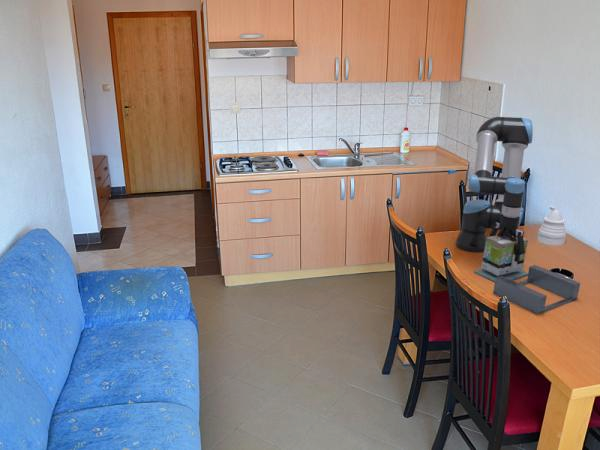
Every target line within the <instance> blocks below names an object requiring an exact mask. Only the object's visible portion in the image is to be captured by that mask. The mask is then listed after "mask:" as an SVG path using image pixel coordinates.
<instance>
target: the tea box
mask: <svg viewBox="0 0 600 450" xmlns="http://www.w3.org/2000/svg"><path fill="white" fill-rule="evenodd" d="M497 235H498V234H496V235H495V236H491V237H489V236H486V237H487V238H486V244H485V249H484V251H483V256H482V261H481V269H482V268H483V269H485V270H487V271H489V272H491V273H493V274H495V275H497V276H499V275H502V274H507V273H511V272H515V271H521V270H522V271H523V270H524V269H523V267H524V264H525V258H526V252H527V247H528V243H529V242H528V241H529V240H528V239H527V238H525V237H523V239H524V248H525V254H522V255H520V258H519V261H518V262H517V267H516V268H513V269H512V268H511V264H512V258H513V254H515V252H514V244H518V241H516V242H513V241H511V240H510V239H509V237H507V236H504V235H503V236H497ZM516 236H517V234H516ZM512 237H513V236H512Z"/></svg>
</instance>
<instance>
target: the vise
mask: <svg viewBox="0 0 600 450" xmlns="http://www.w3.org/2000/svg"><path fill="white" fill-rule="evenodd" d="M527 273H528V276H527V279H525V280H522V281H519V282H516V281H515V280H513V281H512V280H510V279H508V278H506V277H503V276H499V277H496V279H495V282H494V287H493V292H492V293H493V294H494V295H496V296H497V297H501V296H506V297H507V299H508V300H507V301H509V302H510V303H513V304H515V305H517V306H519V307H521V308H523V309H525V310H528V311H529V312H531V313H534V314H535V315H541V314H544V313H546V312H548V311H551V310H553V309H556V308H558V307H560V306H563V305H565V304H568V303H571V302H573V301H576V300H577V299H578V296H579V291H580V286H581V282H578V281H576V280H575V279H573V278H570V277H568V276H567V275H565V274H561V273H559V272H557V271H556V272H553V271H551V270H550V269H549V270H548V269H547V268H543V267H541V266H539V265H536V264H533V265H530V266H529V268H528V272H527ZM528 284H532V285H534V286H536V287H539V288H541V289H543V290H545V291H548V292H550V293H552V294H554V295H556V296H559V297H561V298H564V299H560V300H558V301H556V302H553V303H551V304H547V305H546V302H547V295H546V294H543V293H541V292H539V291H537V290H535V289H533V288H531V287H528V286H527V285H528ZM501 298H502V297H501Z"/></svg>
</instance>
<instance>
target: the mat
mask: <svg viewBox="0 0 600 450" xmlns="http://www.w3.org/2000/svg"><path fill="white" fill-rule="evenodd" d="M473 273H474V274H476V275H478V276H479V277H483V278H484V279H486V280H487V279H488V280H489V281H492V282H493V283H495V279H496V277H499V276H503V277H506V278H508V279H510V280H512V281H515V280H519V279H522V278H524V277H528V273H529V272H527V271H524V270H523V269H522V270H521V271H515V272H511V273H507V274H502V275H499V276H497V275H495V274H493V273H491V272H489V271H487V270H485V269H483V268H482V267H481V268H480V269H477V270H474V271H473Z"/></svg>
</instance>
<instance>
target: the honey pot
mask: <svg viewBox="0 0 600 450" xmlns="http://www.w3.org/2000/svg"><path fill="white" fill-rule="evenodd" d="M549 210H550V213H549V214H548V215H546V216H544V217H543V222H542V223H541V225H540V227H539V228H538V232H537V238H536V239H537V241H538V242H539V243H542V244H545V245H549V246H563V245H565V241H566V235H567V232H566V226H565V223H566V220H565V219H564V217H563V215H562V213H561V212H560V210H558V209H556V206H554V205H549Z"/></svg>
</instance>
